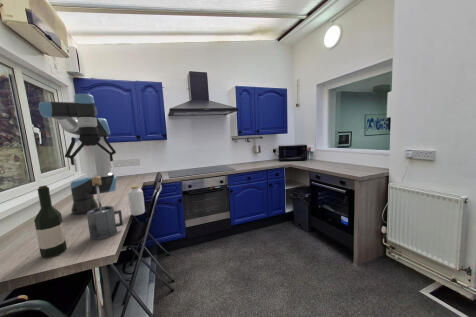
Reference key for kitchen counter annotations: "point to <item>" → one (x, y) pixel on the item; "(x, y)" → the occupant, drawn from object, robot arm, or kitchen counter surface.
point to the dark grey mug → (103, 223)
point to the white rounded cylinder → (136, 201)
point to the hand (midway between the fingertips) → (94, 169)
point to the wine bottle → (49, 227)
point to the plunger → (96, 182)
